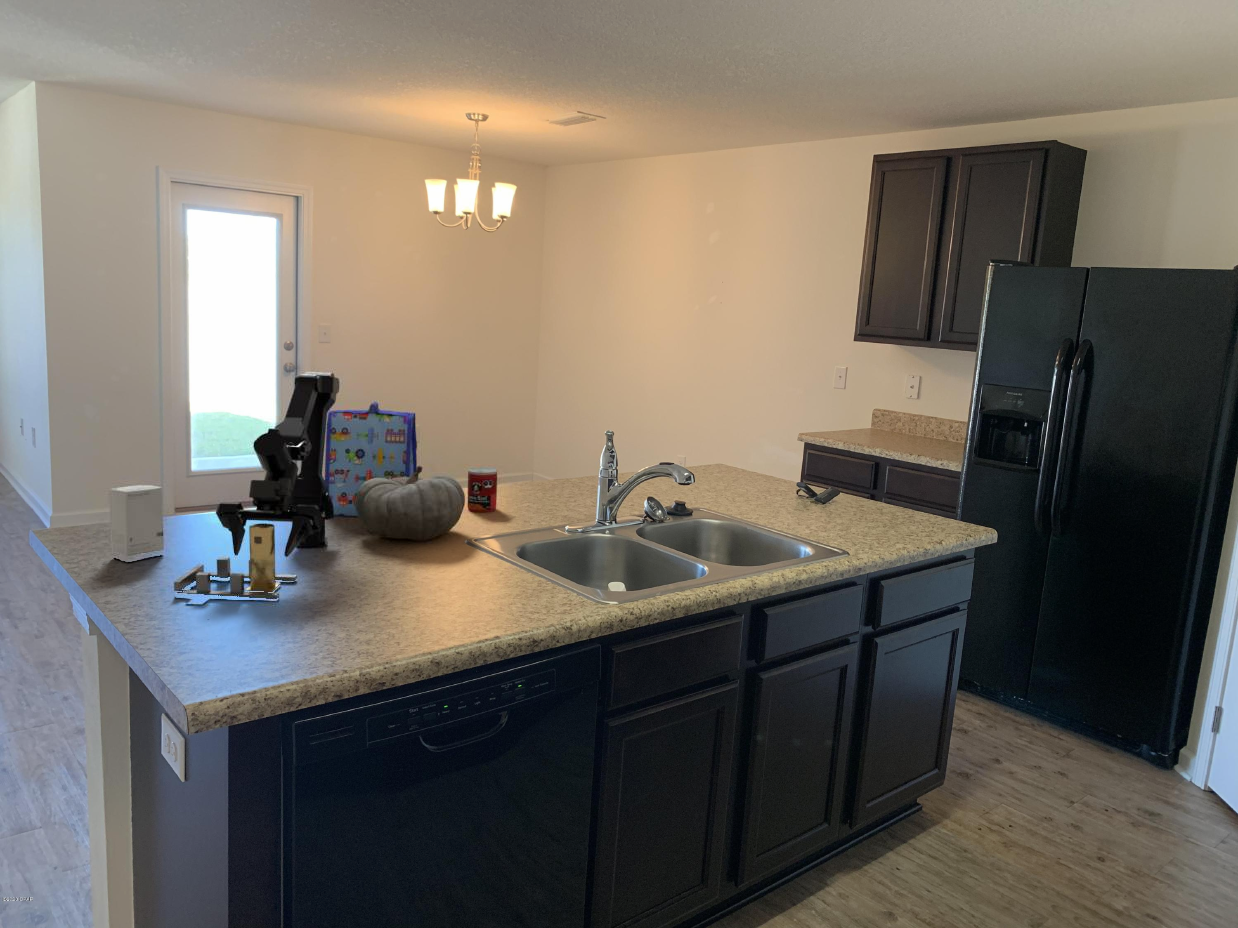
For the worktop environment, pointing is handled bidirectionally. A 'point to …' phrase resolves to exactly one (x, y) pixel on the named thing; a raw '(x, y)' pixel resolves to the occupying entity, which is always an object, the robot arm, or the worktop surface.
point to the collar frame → (223, 572)
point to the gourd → (410, 506)
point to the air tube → (262, 558)
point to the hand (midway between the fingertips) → (260, 555)
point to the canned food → (482, 489)
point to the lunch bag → (366, 451)
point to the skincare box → (136, 519)
